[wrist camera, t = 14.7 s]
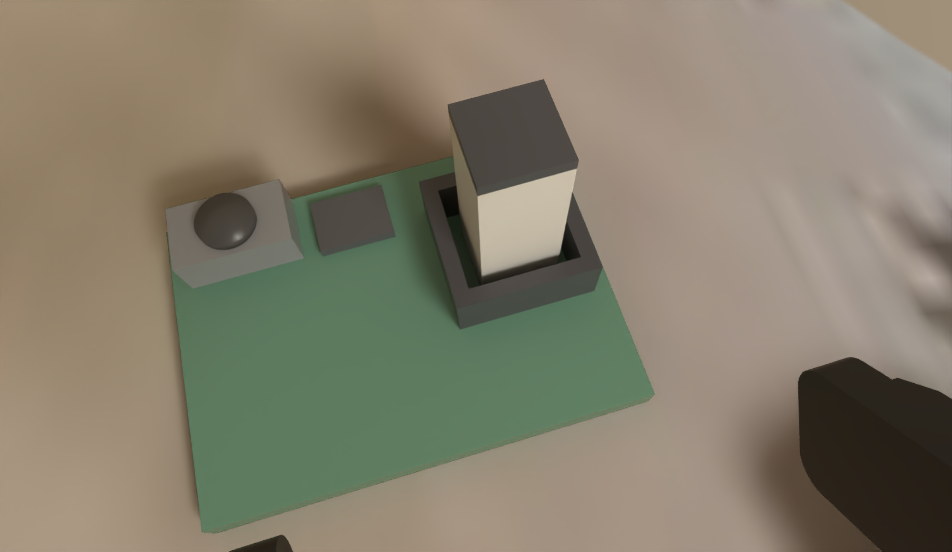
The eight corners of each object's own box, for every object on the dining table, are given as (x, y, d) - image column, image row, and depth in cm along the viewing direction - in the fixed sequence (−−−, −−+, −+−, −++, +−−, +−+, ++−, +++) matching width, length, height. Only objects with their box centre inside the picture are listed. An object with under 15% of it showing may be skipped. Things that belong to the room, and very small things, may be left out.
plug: (482, 294, 34) (477, 188, 25) (461, 228, 36) (447, 104, 26) (555, 272, 35) (578, 160, 25) (531, 208, 36) (543, 78, 26)
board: (214, 533, 31) (172, 529, 27) (178, 244, 38) (139, 205, 34) (648, 401, 33) (669, 378, 29) (545, 146, 40) (551, 97, 35)
